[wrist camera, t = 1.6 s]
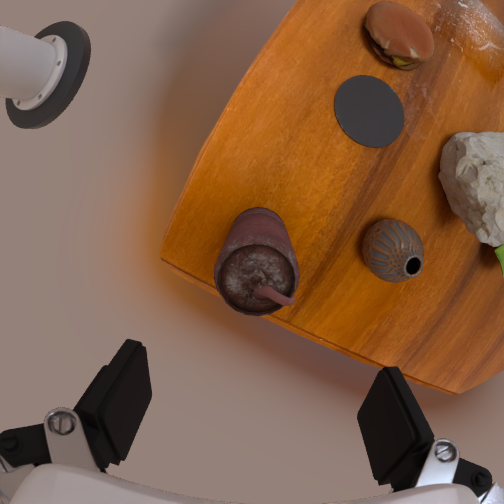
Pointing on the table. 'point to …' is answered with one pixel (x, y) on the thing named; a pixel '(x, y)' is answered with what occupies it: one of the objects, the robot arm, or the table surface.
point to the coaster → (369, 111)
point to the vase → (393, 251)
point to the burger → (398, 35)
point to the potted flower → (500, 256)
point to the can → (257, 264)
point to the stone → (476, 182)
